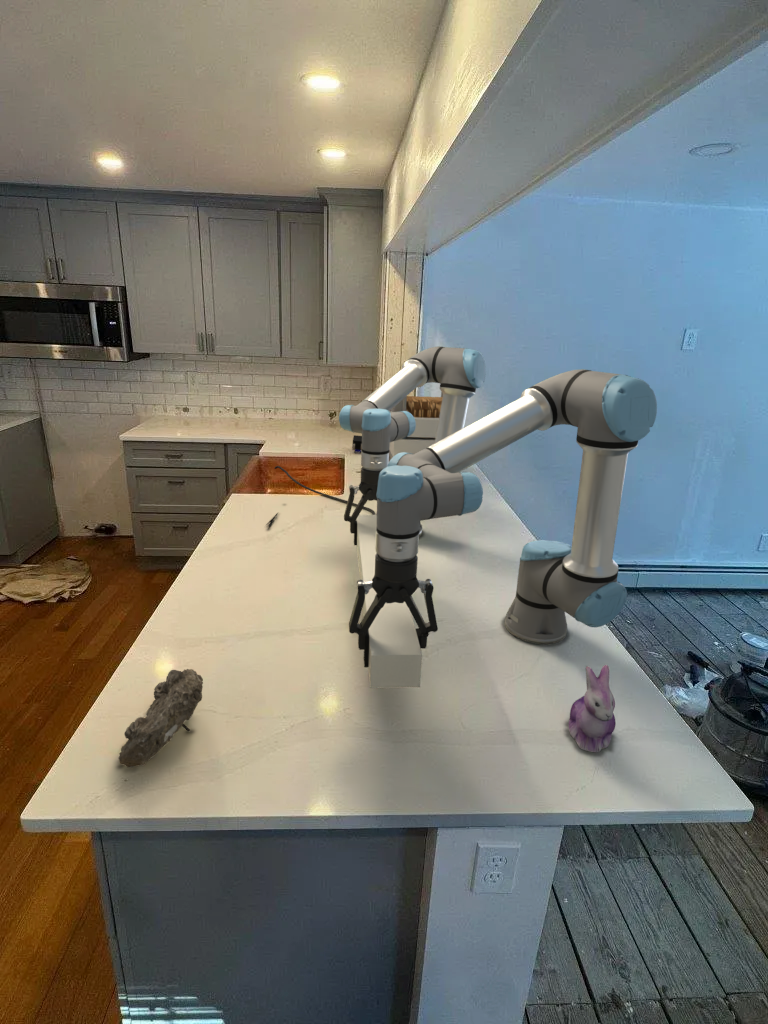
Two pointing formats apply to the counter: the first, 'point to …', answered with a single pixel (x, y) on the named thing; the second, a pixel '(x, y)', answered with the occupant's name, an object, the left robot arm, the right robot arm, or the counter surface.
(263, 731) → the counter surface
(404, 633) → the wide beam
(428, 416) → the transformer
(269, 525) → the feather
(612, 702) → the figurine
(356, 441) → the figurine character
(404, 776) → the counter surface
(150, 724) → the fossil
